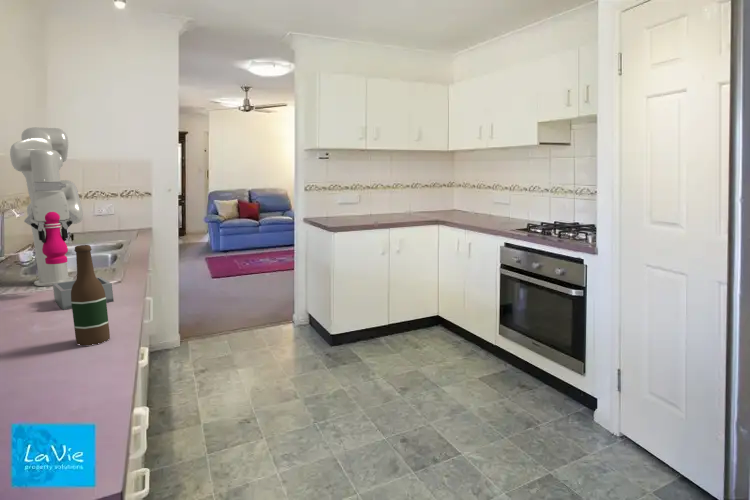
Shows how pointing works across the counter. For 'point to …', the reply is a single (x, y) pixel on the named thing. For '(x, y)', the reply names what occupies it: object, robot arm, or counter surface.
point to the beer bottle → (88, 302)
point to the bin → (64, 289)
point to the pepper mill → (54, 240)
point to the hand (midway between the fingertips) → (54, 240)
